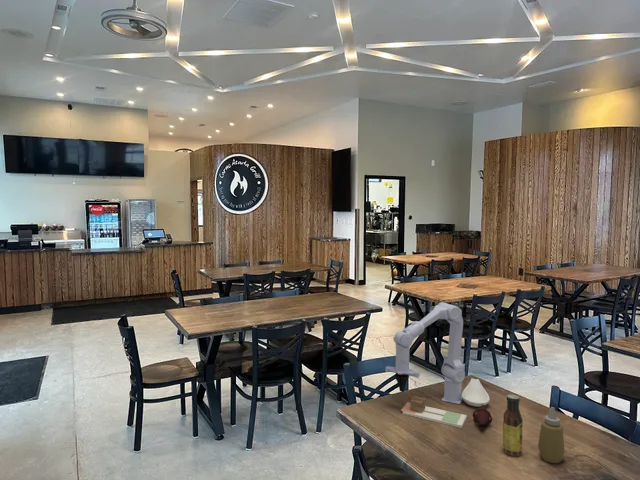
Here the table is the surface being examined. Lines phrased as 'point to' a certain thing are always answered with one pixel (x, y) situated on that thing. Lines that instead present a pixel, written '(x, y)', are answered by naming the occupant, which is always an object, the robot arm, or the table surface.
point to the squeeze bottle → (551, 438)
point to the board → (437, 415)
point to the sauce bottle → (512, 427)
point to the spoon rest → (475, 394)
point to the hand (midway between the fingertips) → (402, 390)
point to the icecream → (482, 416)
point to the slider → (417, 404)
